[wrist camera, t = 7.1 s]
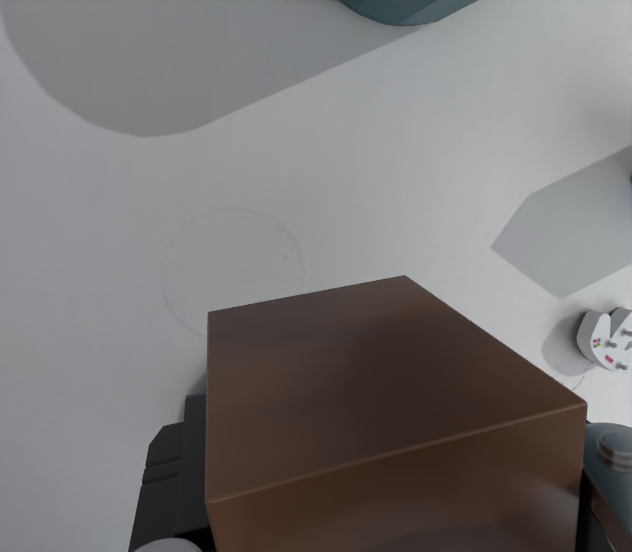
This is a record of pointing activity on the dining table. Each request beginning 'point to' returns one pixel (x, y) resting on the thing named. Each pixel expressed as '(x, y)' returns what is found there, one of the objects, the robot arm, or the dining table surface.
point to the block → (383, 430)
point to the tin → (406, 10)
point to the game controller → (607, 340)
